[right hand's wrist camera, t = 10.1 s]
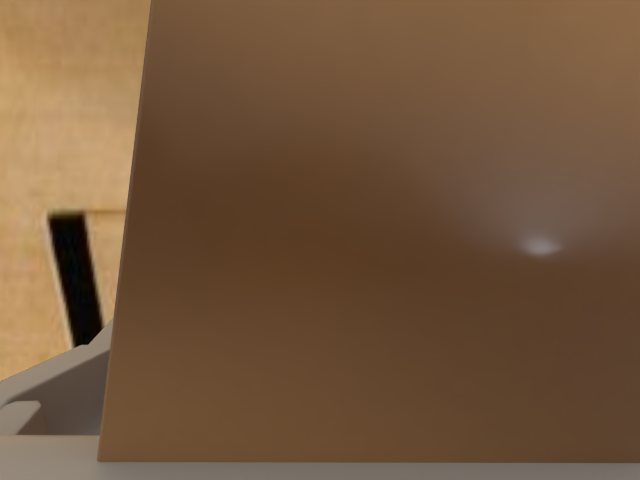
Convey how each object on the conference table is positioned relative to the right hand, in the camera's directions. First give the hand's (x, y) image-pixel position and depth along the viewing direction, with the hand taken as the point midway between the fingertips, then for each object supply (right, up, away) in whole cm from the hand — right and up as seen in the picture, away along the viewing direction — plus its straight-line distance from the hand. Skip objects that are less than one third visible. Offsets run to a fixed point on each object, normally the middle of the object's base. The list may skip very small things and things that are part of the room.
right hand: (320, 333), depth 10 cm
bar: (+2, +9, 0) cm, 9 cm away
